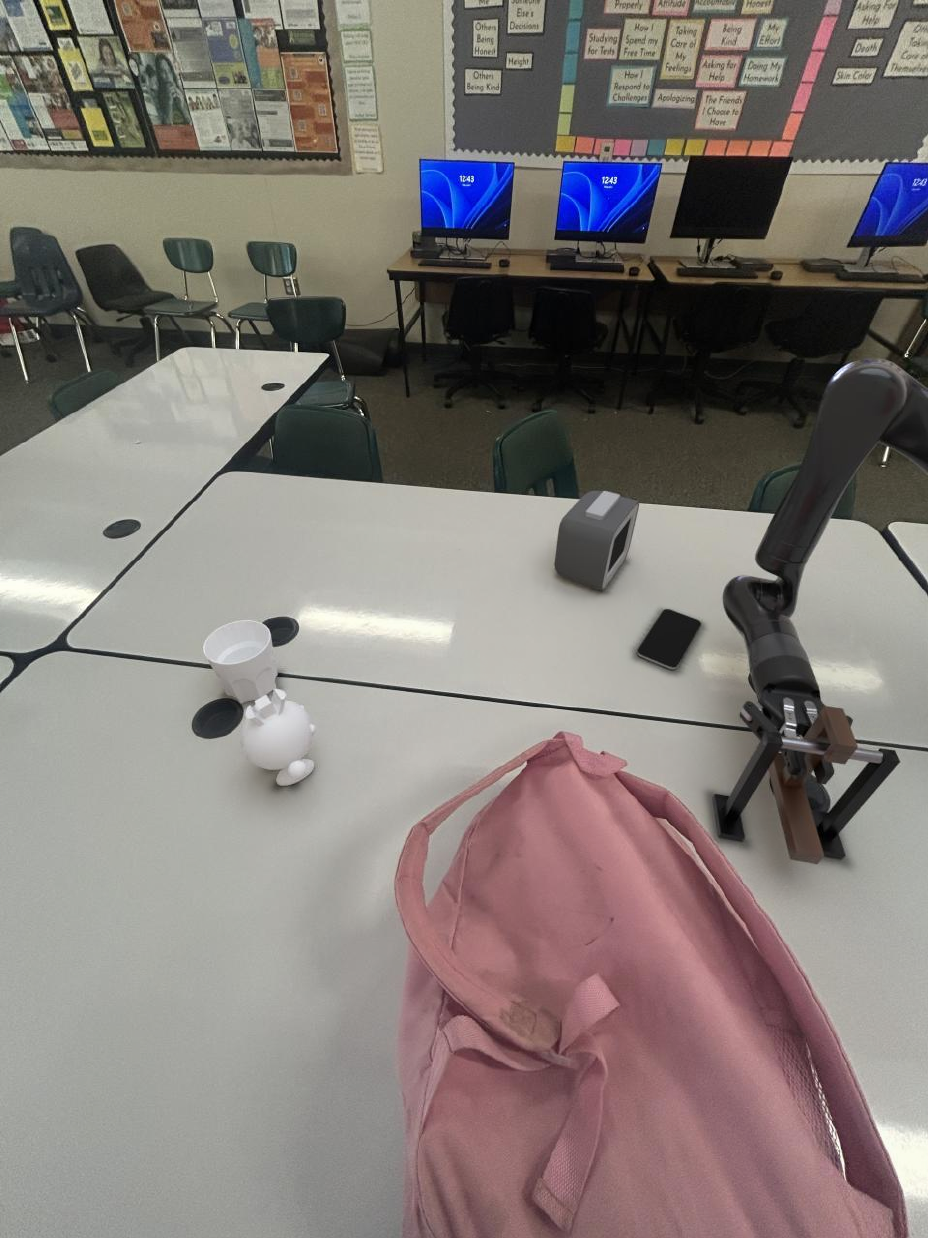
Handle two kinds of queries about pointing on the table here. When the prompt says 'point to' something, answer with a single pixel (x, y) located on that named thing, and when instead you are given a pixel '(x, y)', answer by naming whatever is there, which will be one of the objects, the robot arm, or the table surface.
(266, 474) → the table surface
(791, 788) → the hanger
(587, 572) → the alarm clock
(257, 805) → the table surface
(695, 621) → the smartphone
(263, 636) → the cup
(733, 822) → the rack
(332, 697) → the table surface
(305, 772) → the toy robot
